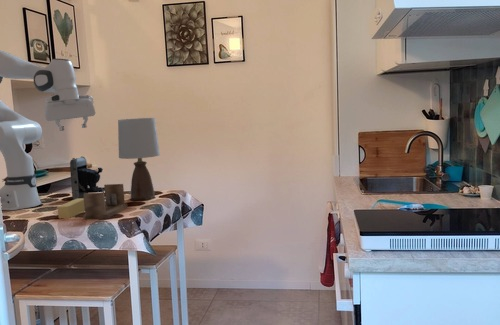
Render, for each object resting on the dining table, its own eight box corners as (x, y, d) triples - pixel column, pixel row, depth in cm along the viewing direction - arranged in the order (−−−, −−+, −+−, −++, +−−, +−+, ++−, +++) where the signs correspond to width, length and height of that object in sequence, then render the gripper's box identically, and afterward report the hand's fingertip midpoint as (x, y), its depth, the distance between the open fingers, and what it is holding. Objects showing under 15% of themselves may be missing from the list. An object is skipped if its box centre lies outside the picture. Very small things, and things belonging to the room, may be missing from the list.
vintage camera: (101, 200, 220) (99, 158, 218) (71, 199, 223) (69, 158, 221) (110, 196, 230) (109, 156, 227) (82, 195, 232) (79, 156, 230)
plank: (58, 219, 184) (57, 206, 184) (78, 209, 200) (76, 198, 200) (69, 218, 184) (68, 206, 183) (88, 209, 200) (86, 198, 199)
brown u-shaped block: (83, 219, 181) (80, 193, 180) (105, 207, 201) (103, 184, 200) (107, 218, 180) (105, 193, 178) (127, 206, 200) (125, 183, 199)
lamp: (153, 201, 208) (147, 118, 204) (115, 201, 212) (108, 120, 208) (168, 193, 226) (163, 117, 222) (133, 193, 230) (127, 118, 226)
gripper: (89, 95, 206) (95, 126, 207) (40, 99, 194) (46, 132, 195) (94, 93, 201) (99, 125, 202) (44, 97, 189) (50, 131, 190)
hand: (73, 129), depth 198 cm, fingers open, 8 cm apart
